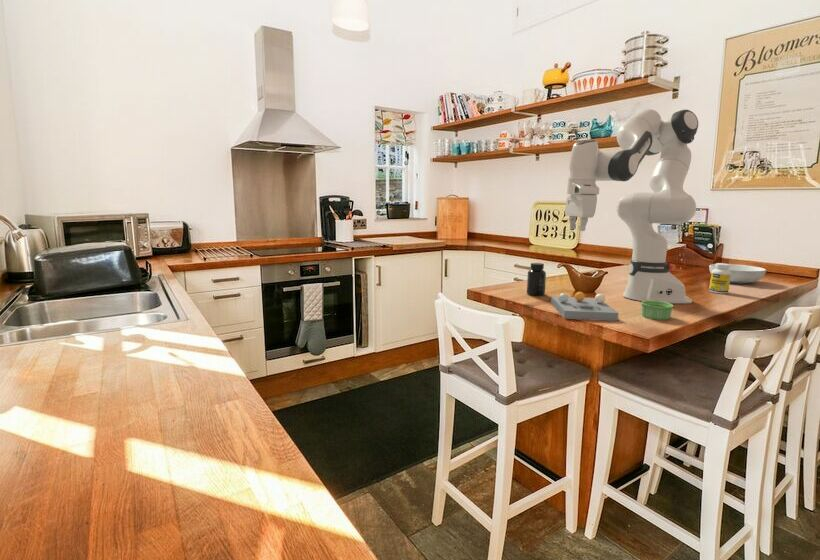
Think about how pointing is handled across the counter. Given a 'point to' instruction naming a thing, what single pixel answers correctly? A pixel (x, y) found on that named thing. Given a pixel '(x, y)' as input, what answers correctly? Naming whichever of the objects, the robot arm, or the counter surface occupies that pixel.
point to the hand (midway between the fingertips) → (577, 230)
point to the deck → (584, 309)
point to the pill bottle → (720, 279)
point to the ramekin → (656, 310)
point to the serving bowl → (743, 273)
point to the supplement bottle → (536, 280)
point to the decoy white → (599, 298)
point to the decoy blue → (563, 297)
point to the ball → (579, 296)
